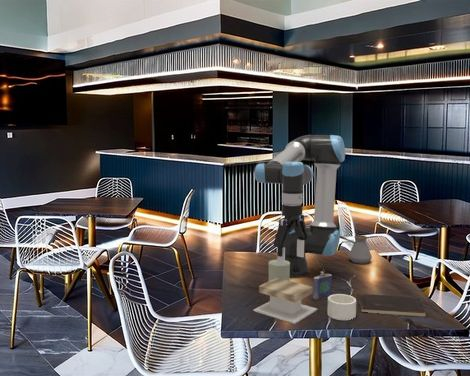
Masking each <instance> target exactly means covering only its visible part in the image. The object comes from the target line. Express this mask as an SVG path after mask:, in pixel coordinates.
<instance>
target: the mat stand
mask: <svg viewBox="0 0 470 376" xmlns="http://www.w3.org/2000/svg"><path fill="white" fill-rule="evenodd" d="M317 311H318V308H316V307H313V306H309V305H306V304H302V299H301V300H299V301H298V302H296V303H295V302H291V301H288V300H284V299H281V298H277V297H273V296H270V295H269V301H268V302H266V303H264V304H261V305H260V306H258V307H255V308H254V309H253V312H256V313H257V314H262V315H264V316H267V317H271V318H275V319H277V320H281V321H284V322H287V323H289V324H290V323H291V324H294V325H295V324H297V323H299V322H300V321H302V320H304V319H305V318H306V317H308V316H310V315H312V314H313V313H315V312H317Z"/></svg>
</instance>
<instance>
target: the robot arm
mask: <svg viewBox="0 0 470 376" xmlns="http://www.w3.org/2000/svg"><path fill="white" fill-rule="evenodd" d="M345 158H346V148H345V143H344V139H343V138H342V137H341V136H340V135H335V134H334V135H333V134H306V135H302V136H299V137H297V138H295V139H293V140H291V141H290V142H289V143H287V144H286V146H285V148H284V150H282V151H281V152H279V153H278V154H277V155H276V156H275V157H273V158H272V159H271V160H269V162H267V163H265V162H264V163H257V164H256V165H255V167H254V179H255V181H257V183H263V184H276V185H279V184H280V185H282V188H281V215H283V216H284V218H283V219H281V218H280V219H279V220H278V225H277V230H276V234H275V236H274V237H275V238H274V242H273V247H276V249H277V250H276V251H277V253H276V255H277V258H276V260H277V264H279V265H283V266H284V265H285V260H286V261H289V262H290V277H289V278H303V277H306V276H308V275H309V274H310V268H309V265H308V262H307V261H308V260H307V259H306V254H310V255H311V254H313V255H320V256H331V257H332V256H333V255H335V254H336V252H337V249H338V248H339V243H340V239H341V238H340V236H341V233H340V230H338V229H337V225H336V224H335V222H334V216H335V214H334V213H335V199H336V197H335V196H336V183H337V170H338V169H339V167H340V166H341V163H342V162H344V161H345ZM302 161H313V162H314V163H313V164H314V166H315V167H316V182H315V183H316V184H315V197H314V198H315V199H314V212H313V213H314V215H313V216H314V217H313V221H312V222H311V223H310V226H309V227H308V226H307V224H306V223H305V215H304V214H303V205H302V204H303V199H304V195H303V192H304V186H305V185H307V184H309V183H310V182H312V180H313V179H314V171H313V168H312V167H310V166H309V165H308V164H304V163H303V162H302Z"/></svg>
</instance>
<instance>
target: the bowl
mask: <svg viewBox="0 0 470 376" xmlns="http://www.w3.org/2000/svg"><path fill="white" fill-rule="evenodd" d="M356 315H357V299H356V297H354V296H352V295H349V294H345V293H344V294H343V293H334V294H331V295H330V296H329V297H327V317H329V318H331V319H334V320H337V321H350V320H351V319H352V320H354V319H356ZM353 318H354V319H353ZM352 320H351V321H352Z"/></svg>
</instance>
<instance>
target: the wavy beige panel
mask: <svg viewBox="0 0 470 376" xmlns="http://www.w3.org/2000/svg"><path fill="white" fill-rule="evenodd" d="M258 293H259V294H263V295H267V296H269V297H270V296H273V297H277V298H281V299H284V300H288V301H291V302H295V303H296V302H298V301H299V300H301V301H302V300H303V299H305V298H306V297H308V296H310V295H313V286H310V285H307V284H303V283H299V282H295V281H291V280H289V281H288V280H284V279H280V278H275V279H273V280H271V281H269V282H268V281H267V282H265V283H263V284H261V285H259V286H258Z"/></svg>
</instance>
